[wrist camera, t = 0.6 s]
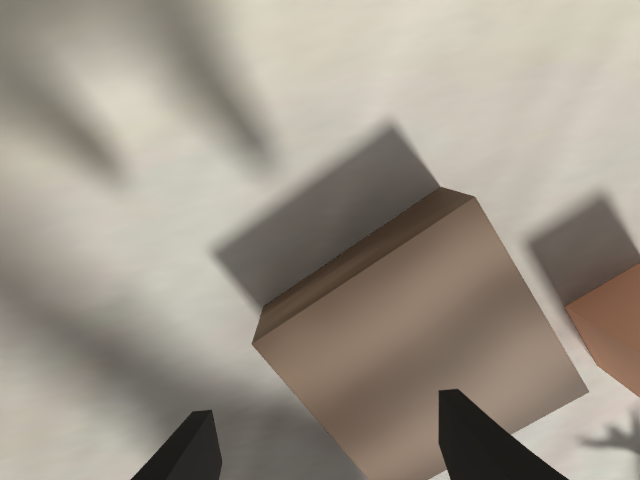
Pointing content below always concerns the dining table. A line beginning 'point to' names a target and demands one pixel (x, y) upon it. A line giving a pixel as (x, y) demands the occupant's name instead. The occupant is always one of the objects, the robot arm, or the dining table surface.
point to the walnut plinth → (416, 338)
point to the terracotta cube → (613, 326)
